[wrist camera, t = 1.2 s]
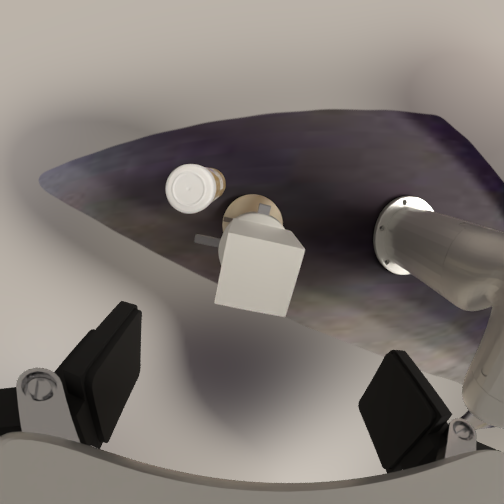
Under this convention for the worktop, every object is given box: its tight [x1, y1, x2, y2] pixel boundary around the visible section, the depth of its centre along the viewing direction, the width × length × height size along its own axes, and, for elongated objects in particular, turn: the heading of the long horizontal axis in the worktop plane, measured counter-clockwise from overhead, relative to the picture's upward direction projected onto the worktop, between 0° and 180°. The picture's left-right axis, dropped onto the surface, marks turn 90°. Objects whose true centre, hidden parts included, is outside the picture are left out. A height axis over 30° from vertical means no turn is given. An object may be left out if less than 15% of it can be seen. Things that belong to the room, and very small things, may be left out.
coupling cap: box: [194, 203, 305, 317], centre depth 22 cm, size 9×8×8 cm
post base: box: [222, 194, 283, 232], centre depth 32 cm, size 8×8×12 cm
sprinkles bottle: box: [165, 164, 226, 214], centre depth 30 cm, size 5×5×14 cm
